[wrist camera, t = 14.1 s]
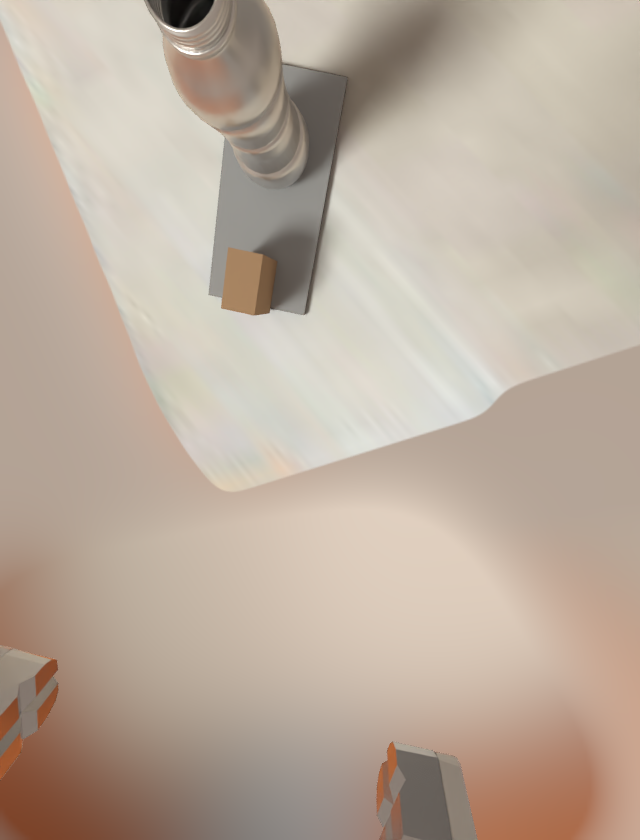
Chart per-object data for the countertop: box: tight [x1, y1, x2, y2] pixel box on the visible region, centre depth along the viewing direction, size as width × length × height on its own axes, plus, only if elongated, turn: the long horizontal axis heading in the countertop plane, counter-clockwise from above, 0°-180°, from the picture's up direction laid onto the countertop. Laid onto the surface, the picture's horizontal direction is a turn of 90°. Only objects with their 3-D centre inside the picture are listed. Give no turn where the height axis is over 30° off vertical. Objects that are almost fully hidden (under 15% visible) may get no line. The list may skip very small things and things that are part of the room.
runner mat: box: [209, 64, 347, 315], centre depth 33 cm, size 20×10×6 cm, turn 168°
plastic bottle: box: [144, 0, 309, 190], centre depth 25 cm, size 6×7×20 cm
